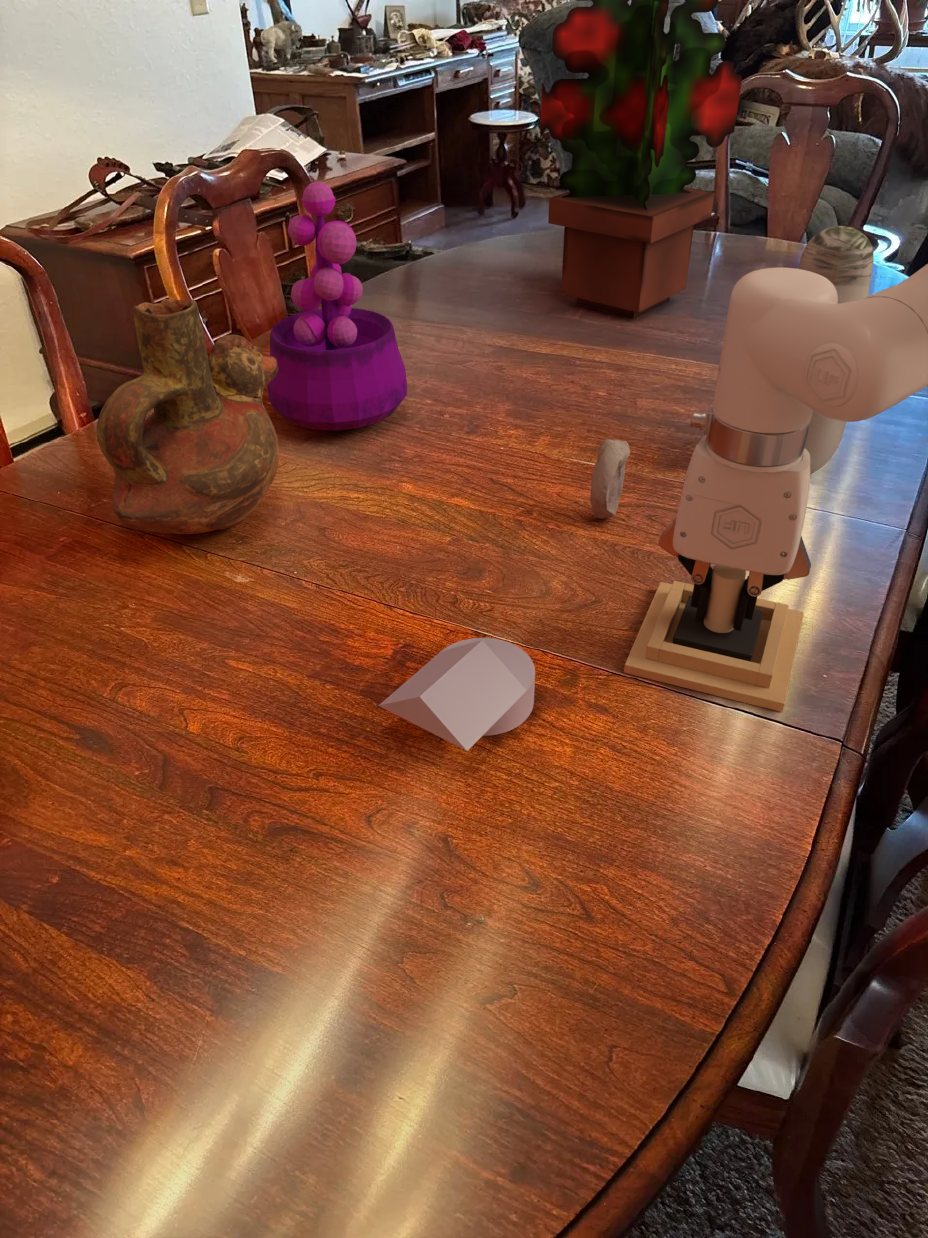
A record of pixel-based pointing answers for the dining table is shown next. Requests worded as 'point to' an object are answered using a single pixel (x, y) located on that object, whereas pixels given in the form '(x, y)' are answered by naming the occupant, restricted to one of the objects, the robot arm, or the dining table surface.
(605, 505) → the fossil
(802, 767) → the dining table surface
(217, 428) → the ceramic vessel
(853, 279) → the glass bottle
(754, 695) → the base pad
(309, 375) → the decorative plant
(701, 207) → the potted plant
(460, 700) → the wedge on round base
